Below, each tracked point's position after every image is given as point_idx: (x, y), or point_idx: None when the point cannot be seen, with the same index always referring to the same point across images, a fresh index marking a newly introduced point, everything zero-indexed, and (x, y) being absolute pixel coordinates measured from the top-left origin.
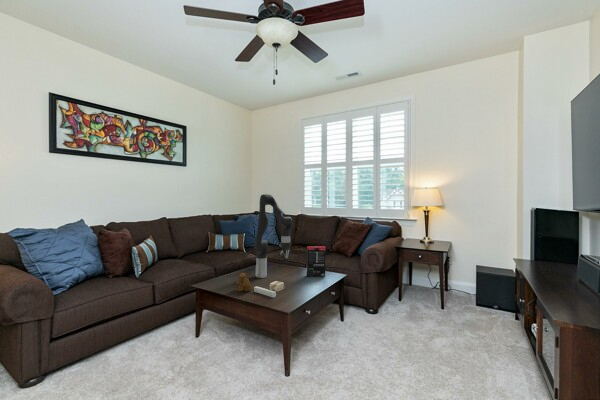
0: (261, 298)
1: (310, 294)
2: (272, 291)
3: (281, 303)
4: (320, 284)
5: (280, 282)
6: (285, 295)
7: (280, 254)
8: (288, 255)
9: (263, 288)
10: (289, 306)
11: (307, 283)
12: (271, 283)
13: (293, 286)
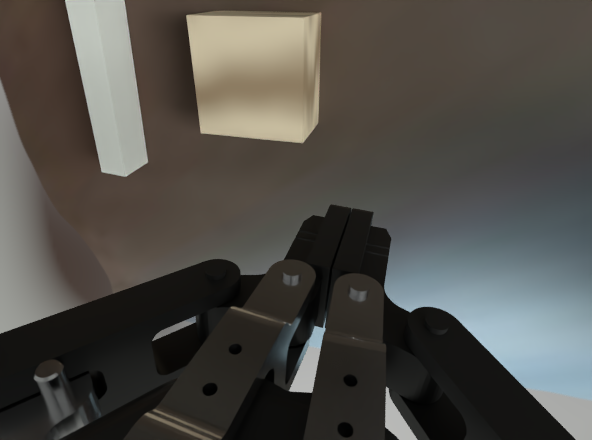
0: (56, 90)
1: (322, 337)
2: (111, 149)
3: (108, 244)
4: (585, 352)
5: (287, 104)
6: (208, 210)
7: (49, 320)
8: (401, 403)
9: (93, 27)
10: (115, 292)
11: (576, 252)
12: (201, 32)
13: (421, 171)
